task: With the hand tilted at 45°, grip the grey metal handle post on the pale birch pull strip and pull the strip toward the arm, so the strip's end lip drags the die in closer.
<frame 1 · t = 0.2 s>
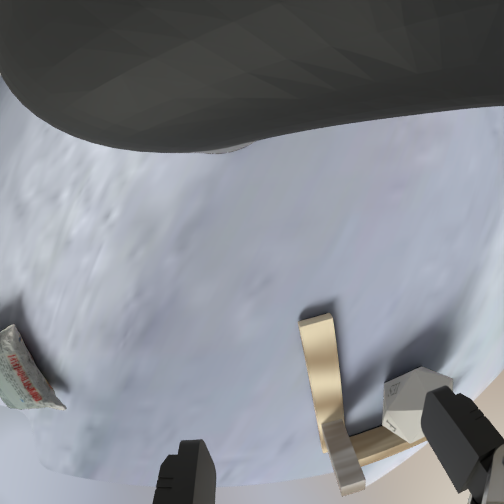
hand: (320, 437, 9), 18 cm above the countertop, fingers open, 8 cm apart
packaged food: (25, 360, 29), on the countertop
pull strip: (404, 407, 26), point 5 cm above the countertop, slide at 0.0 cm
die: (402, 382, 32), on the countertop
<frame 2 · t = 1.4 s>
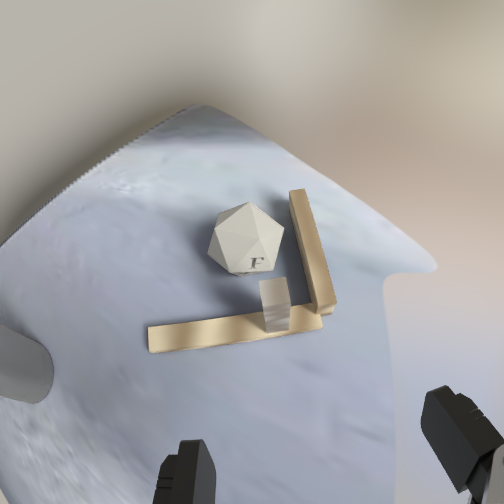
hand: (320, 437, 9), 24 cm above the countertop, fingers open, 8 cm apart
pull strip: (226, 256, 35), point 5 cm above the countertop, slide at 0.0 cm
die: (248, 257, 41), on the countertop
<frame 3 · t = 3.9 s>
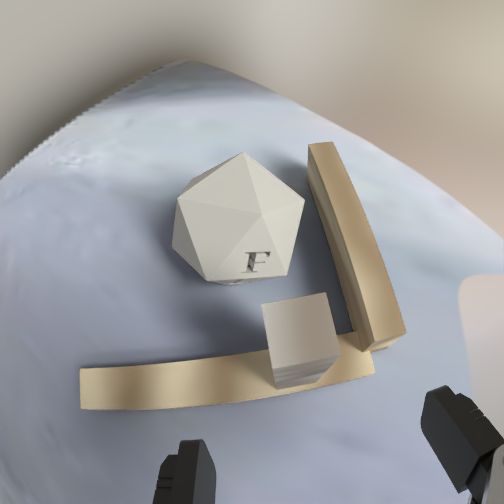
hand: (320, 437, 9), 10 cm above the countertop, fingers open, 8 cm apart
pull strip: (199, 250, 19), point 5 cm above the countertop, slide at 0.0 cm
die: (242, 253, 25), on the countertop
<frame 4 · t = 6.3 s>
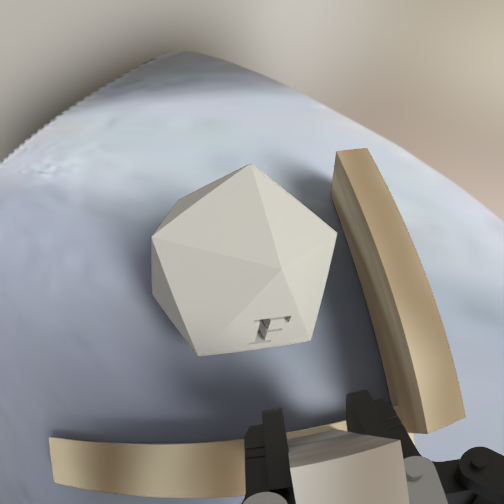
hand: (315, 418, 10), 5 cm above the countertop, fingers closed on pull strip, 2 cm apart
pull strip: (187, 312, 13), point 5 cm above the countertop, slide at 0.0 cm, touching gripper
die: (248, 296, 19), on the countertop
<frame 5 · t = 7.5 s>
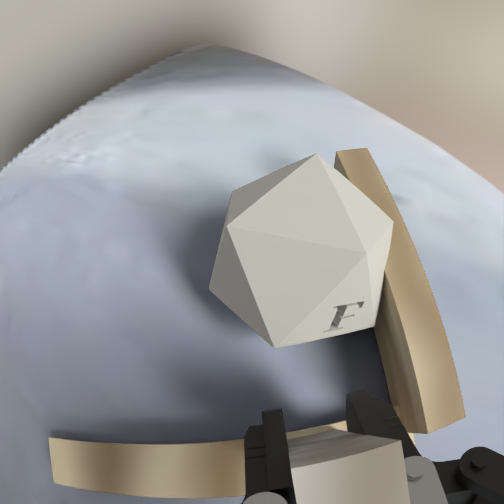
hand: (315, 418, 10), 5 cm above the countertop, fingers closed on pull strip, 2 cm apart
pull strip: (187, 312, 13), point 5 cm above the countertop, slide at 3.9 cm, touching gripper
die: (299, 288, 19), on the countertop
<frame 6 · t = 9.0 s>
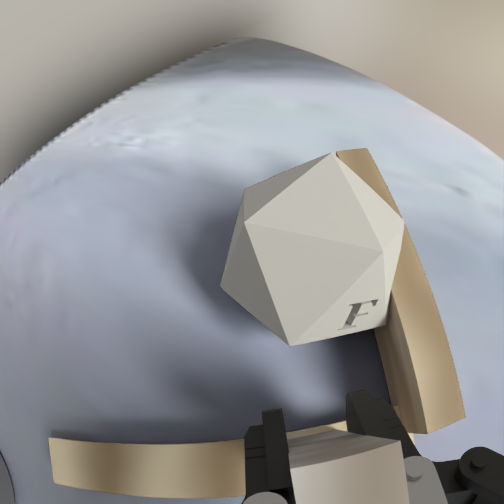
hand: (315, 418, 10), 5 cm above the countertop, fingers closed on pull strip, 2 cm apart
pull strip: (187, 312, 13), point 5 cm above the countertop, slide at 9.9 cm, touching die, gripper
die: (309, 287, 18), on the countertop, touching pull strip
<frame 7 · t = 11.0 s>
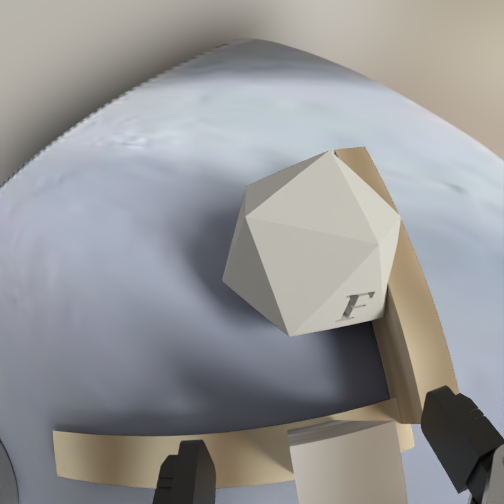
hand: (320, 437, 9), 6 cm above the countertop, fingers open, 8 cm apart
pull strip: (190, 304, 13), point 5 cm above the countertop, slide at 9.9 cm, touching die
die: (308, 282, 19), on the countertop, touching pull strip
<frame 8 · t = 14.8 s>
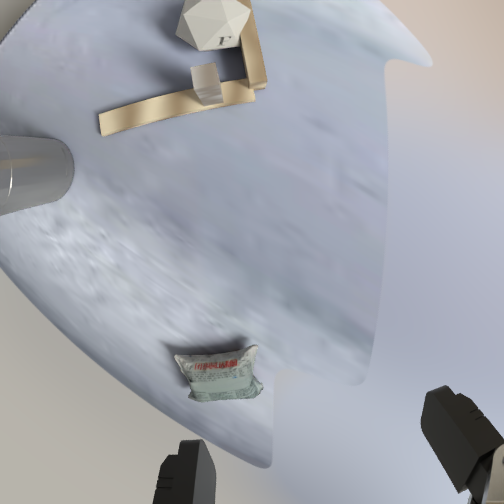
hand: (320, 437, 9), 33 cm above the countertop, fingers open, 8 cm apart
packaged food: (221, 364, 47), on the countertop
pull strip: (164, 43, 30), point 5 cm above the countertop, slide at 10.0 cm, touching die
die: (214, 33, 34), on the countertop, touching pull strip
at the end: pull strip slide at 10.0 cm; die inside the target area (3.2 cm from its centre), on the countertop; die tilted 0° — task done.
